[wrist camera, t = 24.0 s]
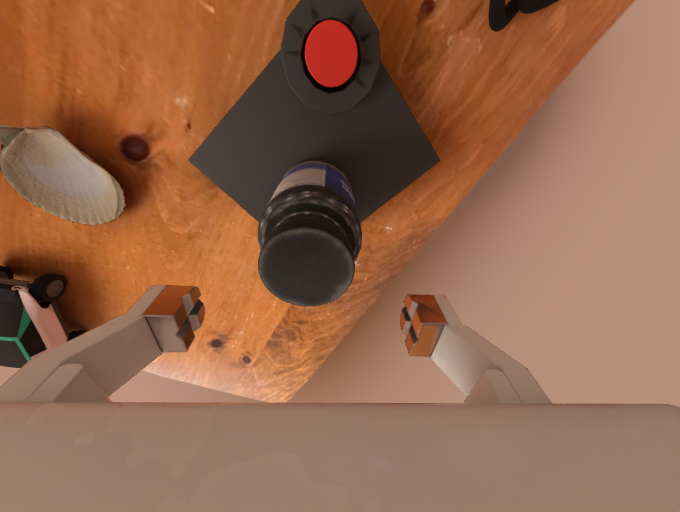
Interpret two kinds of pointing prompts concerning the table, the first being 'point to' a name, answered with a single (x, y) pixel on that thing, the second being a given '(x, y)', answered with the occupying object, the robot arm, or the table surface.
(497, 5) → the character figurine
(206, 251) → the table surface
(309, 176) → the pill bottle
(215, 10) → the table surface
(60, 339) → the toy car
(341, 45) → the button
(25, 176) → the seashell
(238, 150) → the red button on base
